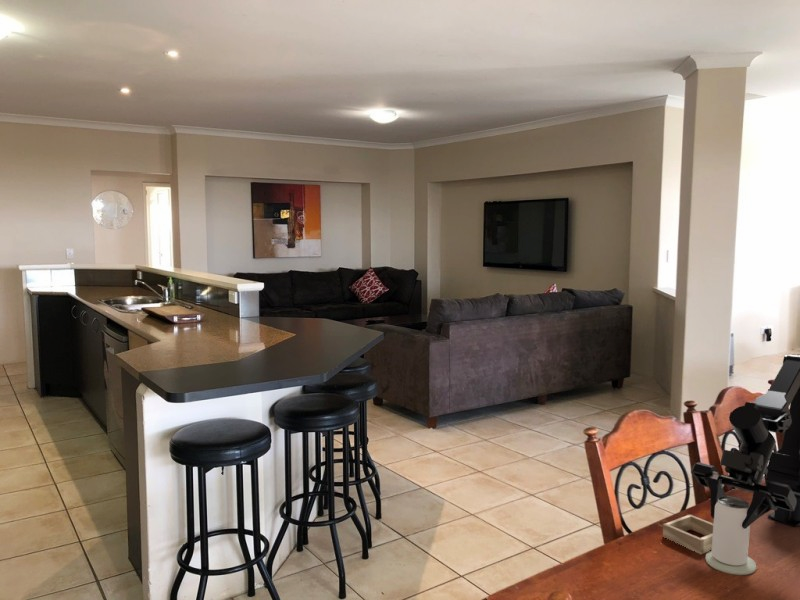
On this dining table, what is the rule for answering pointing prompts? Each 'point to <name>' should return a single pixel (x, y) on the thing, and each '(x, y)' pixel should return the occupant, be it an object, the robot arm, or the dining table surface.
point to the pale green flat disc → (736, 570)
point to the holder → (694, 543)
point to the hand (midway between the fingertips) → (727, 522)
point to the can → (730, 531)
